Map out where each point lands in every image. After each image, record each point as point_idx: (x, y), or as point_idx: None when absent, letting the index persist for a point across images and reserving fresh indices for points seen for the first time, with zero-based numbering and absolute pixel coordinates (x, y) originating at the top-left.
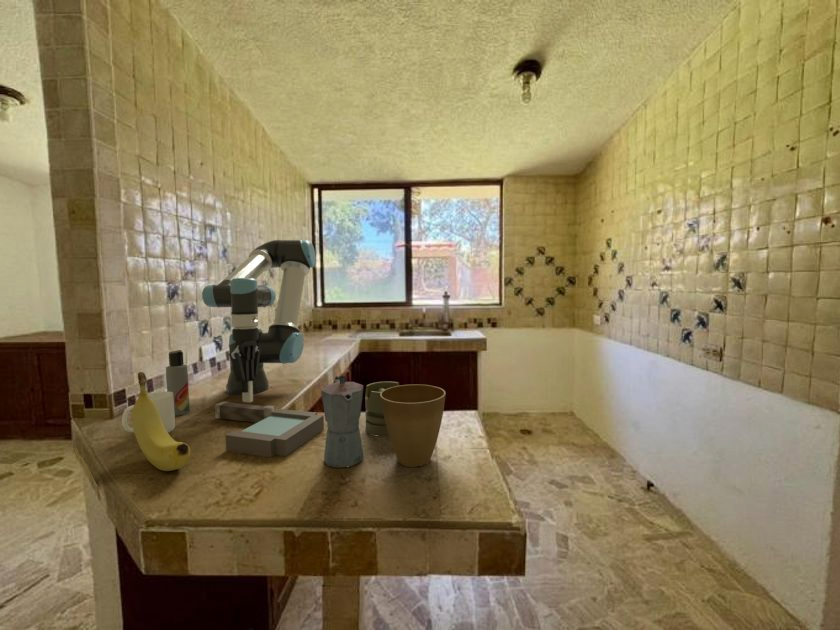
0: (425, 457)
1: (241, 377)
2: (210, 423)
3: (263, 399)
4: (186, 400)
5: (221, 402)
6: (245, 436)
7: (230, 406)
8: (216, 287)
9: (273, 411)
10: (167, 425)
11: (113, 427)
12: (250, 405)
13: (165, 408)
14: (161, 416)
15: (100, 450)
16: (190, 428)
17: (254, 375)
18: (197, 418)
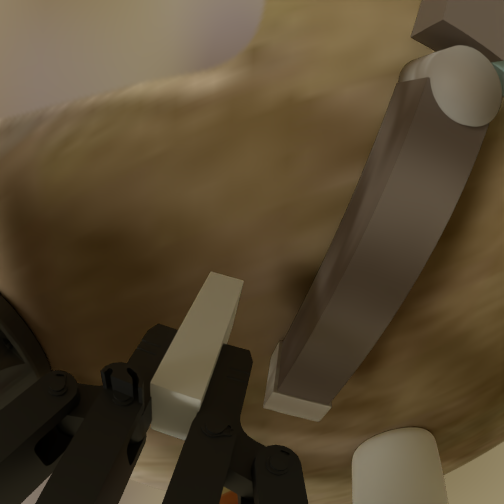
0: None
1: (305, 500)
2: (370, 366)
3: (49, 255)
4: None
5: (281, 411)
6: None
7: (364, 356)
8: None
9: (495, 48)
10: (426, 445)
11: (331, 500)
12: (372, 246)
13: (437, 492)
14: (440, 475)
15: (464, 461)
16: (403, 398)
17: (76, 402)
18: (298, 417)
